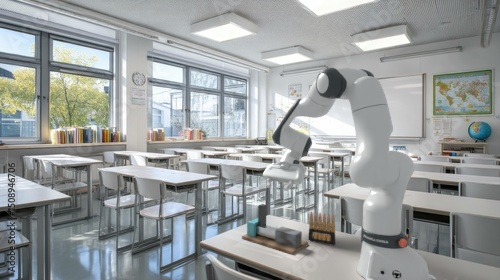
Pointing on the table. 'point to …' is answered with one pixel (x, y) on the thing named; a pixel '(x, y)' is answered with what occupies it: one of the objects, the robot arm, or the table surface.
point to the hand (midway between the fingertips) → (276, 188)
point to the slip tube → (264, 223)
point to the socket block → (252, 227)
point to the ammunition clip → (322, 229)
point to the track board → (281, 240)
